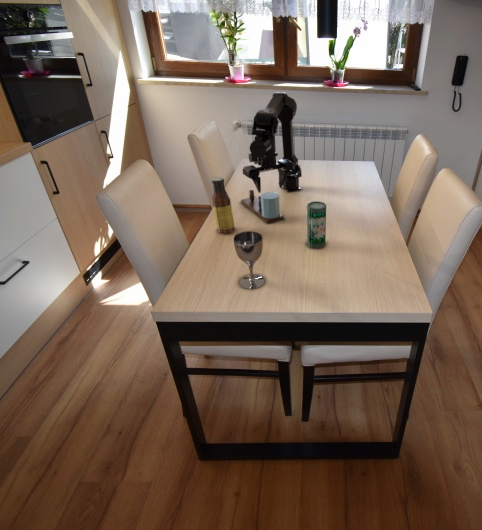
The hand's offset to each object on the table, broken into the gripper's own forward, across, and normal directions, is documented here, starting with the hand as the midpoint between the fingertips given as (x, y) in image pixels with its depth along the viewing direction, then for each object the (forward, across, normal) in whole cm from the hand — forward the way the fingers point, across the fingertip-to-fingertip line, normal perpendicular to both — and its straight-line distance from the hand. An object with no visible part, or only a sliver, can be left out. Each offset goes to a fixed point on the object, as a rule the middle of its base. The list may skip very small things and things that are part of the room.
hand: (270, 190), depth 148 cm
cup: (+10, +1, +1) cm, 10 cm away
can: (+11, -2, +28) cm, 30 cm away
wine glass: (+11, +27, +36) cm, 46 cm away
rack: (+11, +1, -7) cm, 13 cm away
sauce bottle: (+11, +20, +1) cm, 23 cm away
